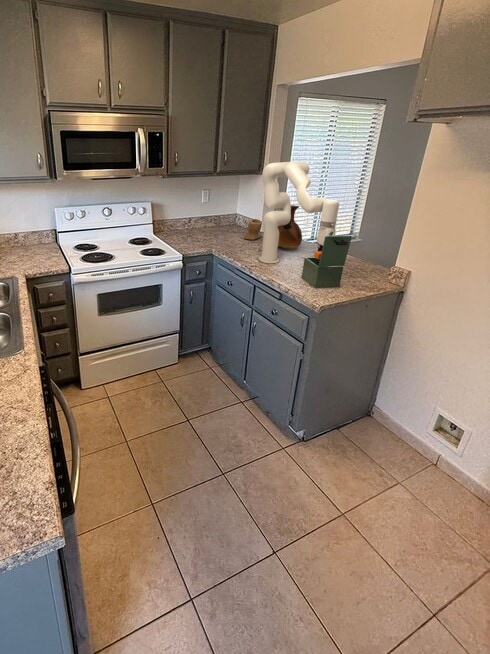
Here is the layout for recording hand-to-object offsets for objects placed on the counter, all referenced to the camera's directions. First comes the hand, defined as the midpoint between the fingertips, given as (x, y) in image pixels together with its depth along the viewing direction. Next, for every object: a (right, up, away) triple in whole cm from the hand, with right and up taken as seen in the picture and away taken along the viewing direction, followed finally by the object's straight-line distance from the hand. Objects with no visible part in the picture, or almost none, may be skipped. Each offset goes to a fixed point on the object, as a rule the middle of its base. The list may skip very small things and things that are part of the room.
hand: (322, 257), depth 192 cm
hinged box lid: (+1, +2, -12) cm, 12 cm away
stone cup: (-17, +18, +83) cm, 87 cm away
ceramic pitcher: (+2, +10, +62) cm, 63 cm away
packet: (0, 0, 0) cm, 0 cm away
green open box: (0, -14, +3) cm, 14 cm away
